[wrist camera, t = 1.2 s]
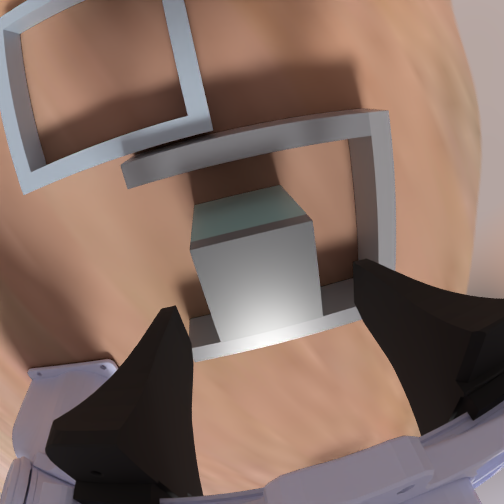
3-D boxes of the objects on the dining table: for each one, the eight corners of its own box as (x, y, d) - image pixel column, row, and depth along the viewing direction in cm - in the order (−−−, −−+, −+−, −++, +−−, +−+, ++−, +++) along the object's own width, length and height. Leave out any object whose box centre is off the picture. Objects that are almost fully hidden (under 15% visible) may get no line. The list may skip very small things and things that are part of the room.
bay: (195, 332, 22) (194, 362, 19) (134, 155, 16) (120, 165, 13) (373, 285, 22) (393, 308, 19) (362, 108, 16) (388, 110, 14)
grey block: (215, 279, 20) (221, 342, 15) (194, 205, 18) (189, 250, 12) (292, 260, 20) (323, 317, 15) (280, 184, 18) (312, 220, 13)
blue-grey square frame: (39, 186, 16) (23, 195, 14) (6, 29, 11) (-11, 24, 9) (212, 128, 16) (213, 130, 14) (174, -43, 11) (171, -58, 9)
